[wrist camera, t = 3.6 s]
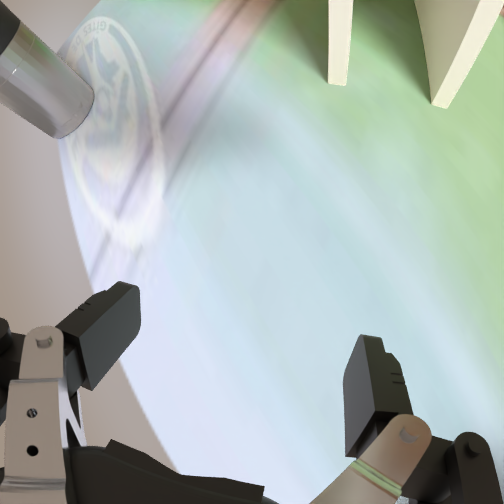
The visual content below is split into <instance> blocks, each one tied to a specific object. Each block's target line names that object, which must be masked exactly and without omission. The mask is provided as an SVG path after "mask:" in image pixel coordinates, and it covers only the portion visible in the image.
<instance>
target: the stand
mask: <svg viewBox="0 0 504 504" xmlns="http://www.w3.org/2000/svg"><path fill="white" fill-rule="evenodd" d="M414 2H415V6H416V10H417V15H418V19H419V24H420V29H421V34H422V39H423V45H424V50H425V57H426V63H427V70H428V78H429V86H430V96H431V105H435V106H438V107H442V108H445V109H447V108H448V106H449V105H450V103H451V101H452V100H453V98H454V96H455V95H456V93H457V91H458V90H459V88H460V86H461V84H462V83H463V81H464V79H465V78H466V76H467V74H468V72H469V70H470V69H471V67H472V65H473V63H474V62H475V60H476V58H477V56H478V54H479V52H480V50H481V49H482V47H483V45H484V43H485V41H486V39H487V37H488V35H489V33H490V31H491V29H492V27H493V25H494V23H495V21H496V19H497V17H498V15H499V13H500V11H501V9H502V7H503V5H504V0H414ZM352 12H353V0H329V60H328V84H335V85H342V86H346V80H347V71H348V61H349V50H350V39H351V26H352Z"/></svg>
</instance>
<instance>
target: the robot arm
mask: <svg viewBox="0 0 504 504" xmlns="http://www.w3.org/2000/svg"><path fill="white" fill-rule="evenodd" d="M93 99H94V93H93V90H92V88H91V87H90V86H89V85H88V84H87V83H86V82H85V81H84V80H83V79H82V78H81V77H79V76H78V75H77V74H76V73H75V72H74V71H73V70H72V69H71V68H70V67H69V66H68V65H67V64H66V63H65V62H64V61H63V60H62V59H61V58H60V57H59V56H58V55H57V54H56V53H54V52H53V51H52V50H51V49H50V48H49V47H48V46H47V45H46V44H45V43H44V42H43V41H42V40H41V39H40V38H39V37H38V36H36V34H34V33H33V32H32V31H31V30H30V29H29V28H28V27H27V26H26V25H25V24H24V23H23V22H21V20H19V19H18V18H17V17H16V16H15V15H14V14H13V13H12V12H11V11H10V10H9V9H8V8H7V7H6V6H5V5H4V4H3V3H2V2H1V1H0V103H1V104H3V105H4V106H6V107H7V108H9V109H10V110H12V111H13V112H15V113H16V114H18V115H19V116H21V117H22V118H24V119H26V120H27V121H28V122H30V123H32V124H33V125H34V126H36V127H37V128H39V129H40V130H42V131H43V132H45V133H46V134H48V135H50V136H51V137H53V138H62V137H64V136H67V135H68V134H70V133H71V132H73V131H74V130H75V129H76V128H77V127H78V126H79V125H80V124H81V123H82V121H83V120H84V119H85V117H86V116H87V114H88V112H89V111H90V108H91V106H92V103H93ZM140 326H141V311H140V290H139V287H138V286H136V285H132V284H128V283H125V282H121V281H118V282H117V283H116V284H114V285H113V286H112V287H111V288H109V289H108V290H107V291H106V290H104V291H101V292H99V293H96V294H94V295H92V296H91V297H90V298H89V299H87V300H86V301H85V303H84V304H81V305H80V306H79V307H78V309H75V310H74V311H73V312H72V313H71V314H69V315H68V316H67V317H66V318H65V319H64V320H62V321H61V322H60V323H59V324H58V325H56V326H55V327H52V326H41V327H37V328H35V329H33V330H31V331H30V332H29V333H28V334H27V335H22V334H17V333H12V332H11V331H10V328H9V324H8V322H7V321H6V320H5V319H3V318H0V426H1V424H2V423H3V422H4V421H5V419H6V424H5V425H6V426H5V453H4V455H5V457H4V459H5V460H4V463H5V467H2V468H0V504H279V503H277V502H275V501H273V500H271V499H269V498H267V497H264V496H263V492H264V487H265V486H260V485H255V484H250V483H245V482H240V481H236V480H232V479H227V478H218V477H200V476H188V475H181V474H178V473H176V472H174V471H173V470H171V469H170V468H168V467H166V466H165V465H163V464H161V463H160V462H158V461H157V460H155V459H153V458H152V457H150V456H149V455H147V454H146V453H144V452H141V451H138V450H136V449H134V448H131V447H129V446H126V445H124V444H122V443H119V442H117V441H115V440H112V439H111V440H110V442H109V443H108V445H107V446H106V447H98V446H87V443H86V439H85V435H84V428H83V420H82V413H81V403H80V395H79V391H78V388H79V387H80V386H82V387H84V388H86V389H88V390H91V391H93V389H94V388H95V387H96V386H97V384H98V383H99V382H100V381H101V379H102V378H103V377H104V375H105V374H106V373H107V372H108V371H109V369H110V368H111V367H112V366H113V364H114V363H115V362H116V361H117V359H118V358H119V357H120V356H121V355H122V353H123V352H124V351H125V350H126V348H127V347H128V346H129V345H130V344H131V342H132V341H133V340H134V339H135V337H136V336H137V335H138V332H139V330H140ZM402 375H403V373H402V369H401V366H400V363H399V362H398V361H397V359H396V358H395V357H394V356H393V354H392V353H386V352H385V349H384V345H383V342H382V339H381V338H380V337H374V336H368V335H362V334H361V335H360V336H359V337H358V339H357V342H356V344H355V347H354V349H353V352H352V354H351V357H350V359H349V362H348V364H347V366H346V369H345V373H344V378H343V394H344V417H345V457H356V461H353V462H352V463H351V464H350V465H349V466H348V467H347V468H346V469H345V470H344V471H343V472H342V473H341V474H340V475H339V476H338V477H337V478H336V479H335V480H334V481H333V482H332V483H331V484H330V485H329V486H328V487H327V488H326V489H325V490H324V491H323V492H322V493H321V494H319V495H318V496H317V497H316V498H315V499H314V500H313V501H312V502H311V503H309V504H395V502H396V501H397V499H398V498H399V497H400V496H404V497H407V498H409V504H503V500H502V495H501V491H500V486H499V482H498V477H497V473H496V469H495V466H494V462H493V458H492V455H491V451H490V448H489V445H488V443H487V442H486V440H485V439H484V438H483V437H481V436H480V435H478V434H476V433H473V432H464V433H461V434H460V435H459V436H458V437H457V438H456V439H455V440H454V441H453V442H452V441H449V440H445V439H442V438H438V437H435V436H432V434H431V430H430V428H429V426H428V425H427V424H426V423H425V422H424V421H423V420H422V419H420V418H419V417H417V416H414V415H413V411H412V407H411V403H410V399H409V395H408V391H407V387H406V385H405V380H404V377H403V376H402Z"/></svg>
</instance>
